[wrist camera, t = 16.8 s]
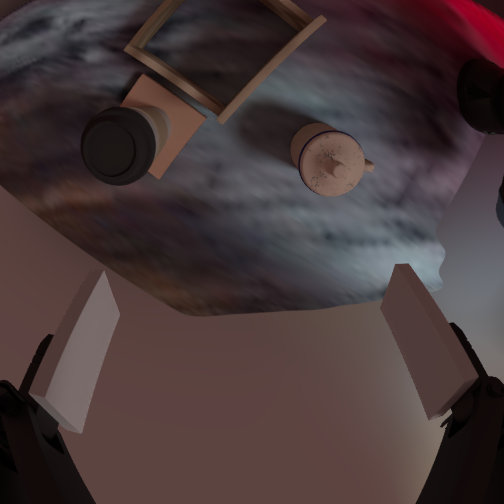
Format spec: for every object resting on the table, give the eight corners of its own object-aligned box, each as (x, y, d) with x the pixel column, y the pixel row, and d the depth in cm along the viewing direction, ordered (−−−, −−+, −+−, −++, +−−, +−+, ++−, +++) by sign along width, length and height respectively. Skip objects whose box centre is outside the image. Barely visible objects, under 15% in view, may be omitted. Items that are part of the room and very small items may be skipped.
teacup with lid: (284, 172, 45) (297, 201, 35) (292, 116, 40) (310, 129, 30) (353, 182, 46) (382, 212, 36) (365, 130, 41) (400, 148, 32)
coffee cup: (158, 167, 42) (124, 208, 29) (111, 137, 39) (61, 167, 26) (190, 118, 38) (166, 138, 26) (141, 87, 35) (95, 94, 23)
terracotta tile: (207, 117, 40) (206, 118, 39) (161, 176, 44) (159, 179, 43) (145, 73, 35) (142, 73, 34) (104, 136, 40) (100, 138, 39)
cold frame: (308, 32, 33) (327, 20, 24) (226, 115, 40) (222, 124, 31) (214, -35, 26) (207, -61, 17) (134, 50, 33) (107, 45, 24)
